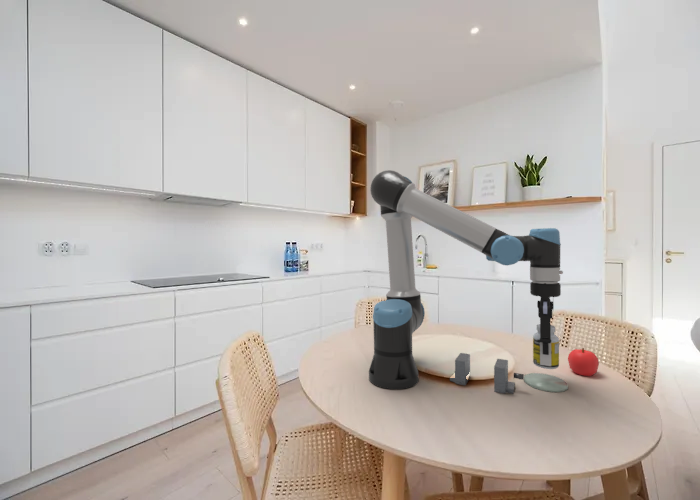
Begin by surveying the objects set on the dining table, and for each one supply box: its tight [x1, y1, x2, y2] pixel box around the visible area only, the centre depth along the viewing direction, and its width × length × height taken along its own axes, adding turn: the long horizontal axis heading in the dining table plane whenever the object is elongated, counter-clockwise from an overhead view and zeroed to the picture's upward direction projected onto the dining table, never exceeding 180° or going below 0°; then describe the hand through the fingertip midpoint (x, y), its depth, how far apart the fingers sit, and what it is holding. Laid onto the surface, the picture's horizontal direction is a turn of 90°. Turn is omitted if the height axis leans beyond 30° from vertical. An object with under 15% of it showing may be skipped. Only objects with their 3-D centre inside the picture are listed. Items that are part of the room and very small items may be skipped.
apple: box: [567, 347, 600, 377], centre depth 102 cm, size 8×8×8 cm
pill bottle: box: [532, 323, 560, 370], centre depth 95 cm, size 6×6×12 cm
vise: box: [449, 352, 525, 395], centre depth 96 cm, size 19×7×7 cm, turn 59°
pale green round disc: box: [523, 372, 569, 393], centre depth 96 cm, size 11×11×1 cm
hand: (545, 360), depth 95 cm, fingers closed on pill bottle, 6 cm apart
